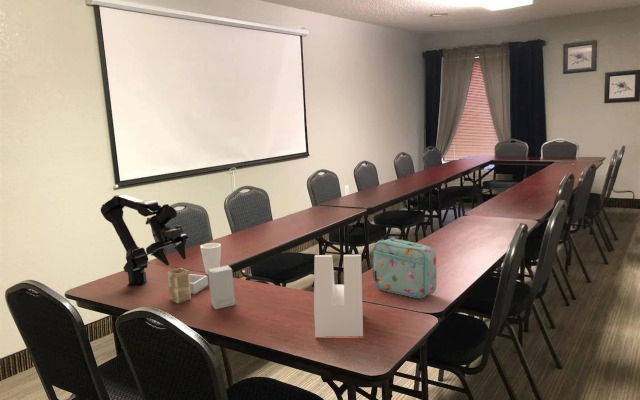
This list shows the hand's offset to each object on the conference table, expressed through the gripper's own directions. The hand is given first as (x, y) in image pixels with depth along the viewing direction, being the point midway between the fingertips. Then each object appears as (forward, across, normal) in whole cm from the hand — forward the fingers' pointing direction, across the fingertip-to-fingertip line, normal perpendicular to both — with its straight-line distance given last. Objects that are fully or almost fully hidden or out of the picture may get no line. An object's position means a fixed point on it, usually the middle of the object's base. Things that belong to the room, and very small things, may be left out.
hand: (176, 262), depth 210 cm
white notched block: (+51, 0, -58) cm, 78 cm away
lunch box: (+54, +39, -64) cm, 93 cm away
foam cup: (+9, +26, +11) cm, 29 cm away
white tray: (+12, +5, +5) cm, 14 cm away
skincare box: (+25, -3, -16) cm, 30 cm away
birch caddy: (+15, -6, +1) cm, 16 cm away
